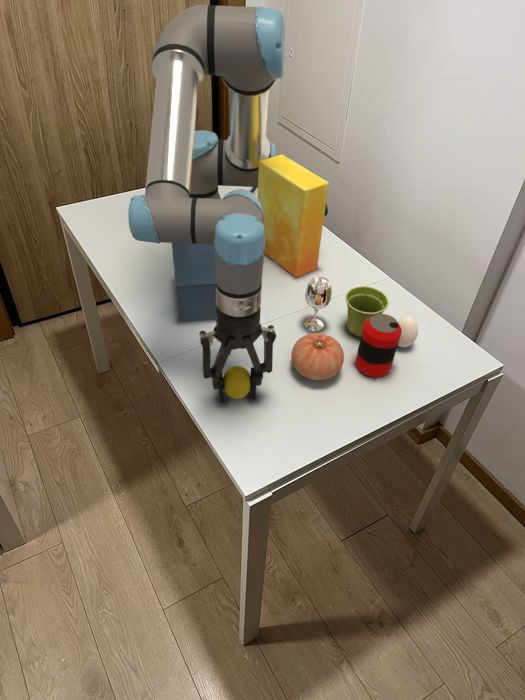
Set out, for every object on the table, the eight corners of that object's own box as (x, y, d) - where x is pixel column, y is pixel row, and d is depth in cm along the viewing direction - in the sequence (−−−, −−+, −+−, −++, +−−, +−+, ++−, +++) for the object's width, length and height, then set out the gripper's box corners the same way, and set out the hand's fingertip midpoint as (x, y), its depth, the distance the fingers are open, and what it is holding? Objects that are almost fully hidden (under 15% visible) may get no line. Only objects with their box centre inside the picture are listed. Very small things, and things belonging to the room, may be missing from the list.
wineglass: (322, 336, 120) (329, 293, 111) (298, 329, 121) (303, 287, 112) (329, 320, 124) (336, 278, 115) (305, 314, 125) (311, 272, 116)
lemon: (228, 382, 108) (228, 355, 102) (254, 389, 107) (255, 361, 101) (218, 402, 104) (218, 374, 99) (245, 409, 103) (246, 382, 98)
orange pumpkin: (328, 396, 107) (334, 368, 101) (280, 376, 110) (283, 348, 105) (348, 363, 114) (355, 335, 108) (303, 345, 117) (306, 317, 112)
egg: (388, 350, 117) (396, 324, 112) (389, 334, 121) (397, 308, 116) (413, 355, 116) (421, 328, 111) (413, 339, 120) (422, 313, 115)
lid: (168, 207, 107) (169, 213, 101) (230, 204, 109) (235, 210, 103) (175, 285, 114) (176, 295, 107) (233, 281, 116) (238, 291, 109)
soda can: (388, 381, 110) (401, 339, 102) (352, 373, 112) (362, 331, 103) (392, 357, 116) (404, 315, 107) (357, 349, 117) (367, 307, 109)
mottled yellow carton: (331, 262, 140) (345, 176, 124) (295, 278, 135) (305, 190, 118) (290, 232, 150) (298, 149, 134) (254, 245, 145) (258, 160, 128)
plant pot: (386, 341, 119) (394, 311, 113) (346, 344, 118) (352, 314, 112) (373, 314, 126) (380, 284, 120) (335, 317, 124) (340, 287, 118)
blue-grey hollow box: (175, 280, 132) (172, 247, 125) (225, 277, 134) (225, 244, 127) (178, 322, 121) (175, 287, 114) (233, 317, 123) (234, 283, 116)
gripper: (184, 324, 85) (191, 416, 101) (297, 315, 88) (286, 406, 104) (181, 295, 90) (188, 386, 106) (288, 287, 93) (279, 378, 109)
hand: (236, 396), depth 105 cm, fingers closed on lemon, 6 cm apart
